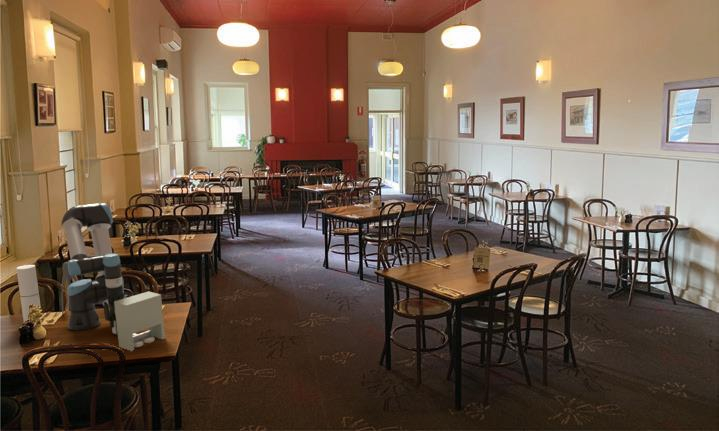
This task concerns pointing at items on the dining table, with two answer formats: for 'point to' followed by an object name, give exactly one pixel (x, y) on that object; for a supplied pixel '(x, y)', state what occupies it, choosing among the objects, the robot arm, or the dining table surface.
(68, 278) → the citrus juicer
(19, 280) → the container
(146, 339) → the coaster
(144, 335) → the scraper
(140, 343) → the coaster
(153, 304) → the cabinet
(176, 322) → the dining table surface
